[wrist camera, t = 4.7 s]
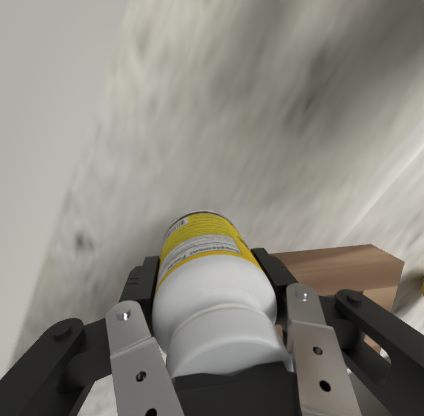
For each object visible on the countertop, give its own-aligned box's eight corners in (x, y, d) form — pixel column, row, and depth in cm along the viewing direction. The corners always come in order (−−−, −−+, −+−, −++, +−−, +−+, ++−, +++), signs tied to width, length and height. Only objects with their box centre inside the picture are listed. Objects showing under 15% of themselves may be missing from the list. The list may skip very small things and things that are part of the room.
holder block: (239, 257, 20) (251, 279, 17) (371, 244, 22) (404, 262, 19) (238, 352, 24) (247, 386, 21) (351, 334, 26) (377, 363, 22)
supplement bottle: (236, 272, 17) (303, 434, 8) (165, 277, 16) (144, 463, 7) (239, 205, 15) (330, 310, 6) (161, 208, 14) (124, 331, 5)
